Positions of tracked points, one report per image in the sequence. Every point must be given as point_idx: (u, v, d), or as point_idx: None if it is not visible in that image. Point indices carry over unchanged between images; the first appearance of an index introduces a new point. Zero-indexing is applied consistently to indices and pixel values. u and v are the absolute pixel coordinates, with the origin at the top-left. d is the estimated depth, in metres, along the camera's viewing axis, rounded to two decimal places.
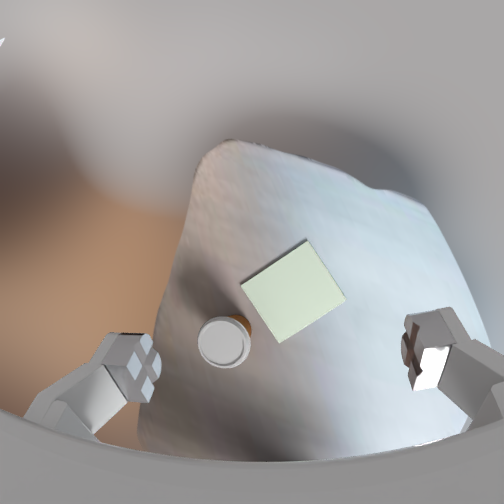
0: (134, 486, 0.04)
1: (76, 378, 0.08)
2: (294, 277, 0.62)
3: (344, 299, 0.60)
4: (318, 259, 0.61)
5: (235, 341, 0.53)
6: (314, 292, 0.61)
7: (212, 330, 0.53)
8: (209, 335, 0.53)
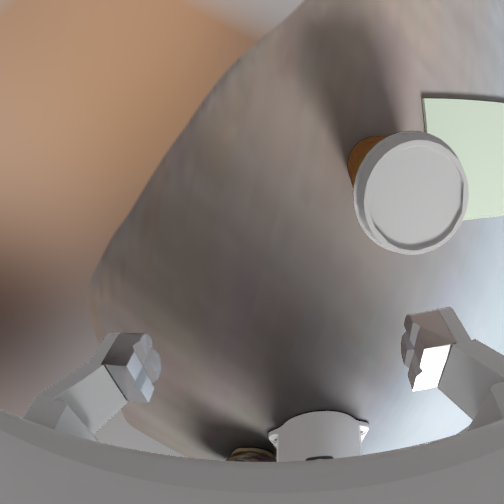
0: (134, 486, 0.04)
1: (76, 378, 0.08)
2: (496, 140, 0.26)
3: None
4: None
5: (445, 206, 0.20)
6: None
7: (416, 158, 0.19)
8: (404, 166, 0.19)
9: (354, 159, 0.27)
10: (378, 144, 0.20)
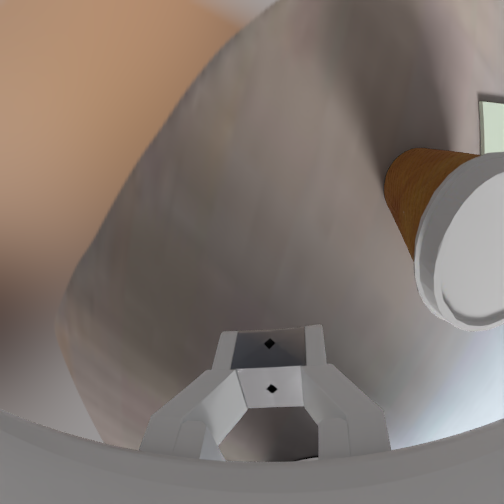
0: (134, 486, 0.04)
1: (203, 389, 0.07)
2: None
3: None
4: None
5: None
6: None
7: None
8: (495, 208, 0.11)
9: (401, 181, 0.18)
10: (460, 170, 0.11)
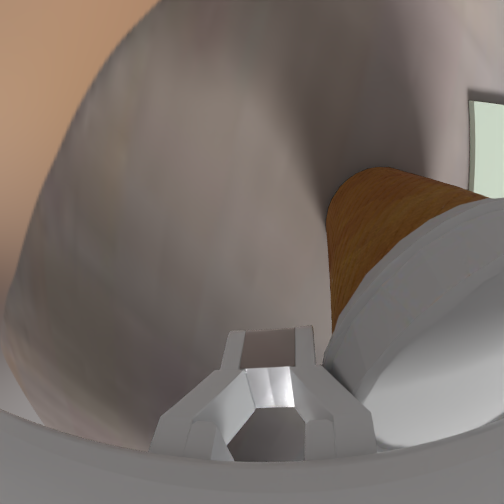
0: (134, 486, 0.04)
1: (212, 390, 0.07)
2: None
3: None
4: None
5: None
6: None
7: None
8: (484, 312, 0.06)
9: (339, 225, 0.13)
10: (422, 240, 0.06)
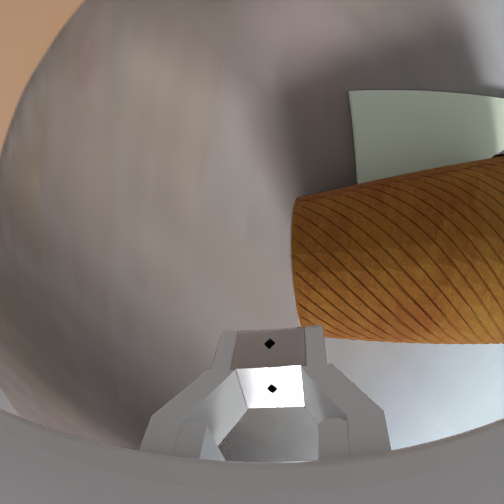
0: (134, 486, 0.04)
1: (203, 389, 0.07)
2: None
3: None
4: None
5: None
6: None
7: None
8: None
9: (410, 274, 0.10)
10: None
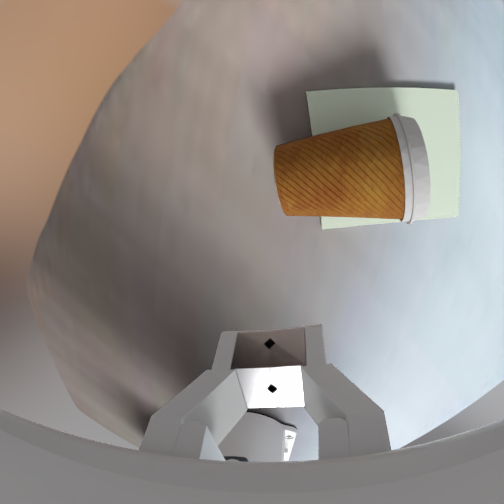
0: (134, 486, 0.04)
1: (203, 389, 0.07)
2: None
3: (455, 214, 0.30)
4: (457, 129, 0.26)
5: None
6: None
7: None
8: None
9: (327, 169, 0.23)
10: (407, 132, 0.20)
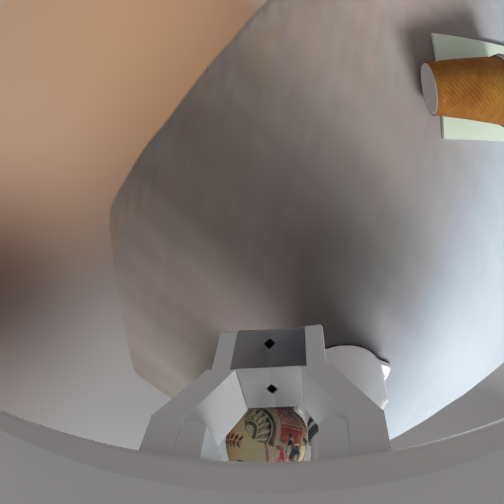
0: (134, 486, 0.04)
1: (203, 389, 0.07)
2: None
3: None
4: None
5: None
6: None
7: None
8: None
9: (469, 77, 0.23)
10: None
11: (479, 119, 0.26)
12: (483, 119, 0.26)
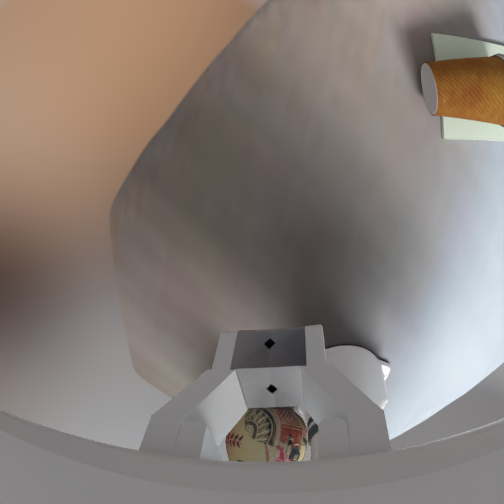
0: (134, 486, 0.04)
1: (203, 389, 0.07)
2: None
3: None
4: None
5: None
6: None
7: None
8: None
9: (469, 77, 0.23)
10: None
11: (479, 119, 0.26)
12: (483, 119, 0.26)
